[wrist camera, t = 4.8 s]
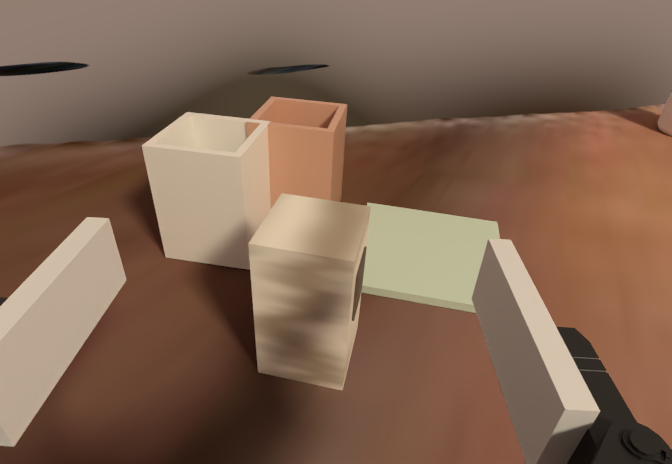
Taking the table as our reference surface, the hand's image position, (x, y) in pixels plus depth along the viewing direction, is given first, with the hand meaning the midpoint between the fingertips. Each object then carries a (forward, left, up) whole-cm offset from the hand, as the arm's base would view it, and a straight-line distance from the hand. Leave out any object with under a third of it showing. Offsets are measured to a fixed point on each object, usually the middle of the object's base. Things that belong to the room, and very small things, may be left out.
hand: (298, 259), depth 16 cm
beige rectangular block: (-2, +10, -16) cm, 19 cm away
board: (+6, +24, -16) cm, 29 cm away
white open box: (-14, +21, -16) cm, 29 cm away
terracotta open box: (-8, +28, -16) cm, 33 cm away
